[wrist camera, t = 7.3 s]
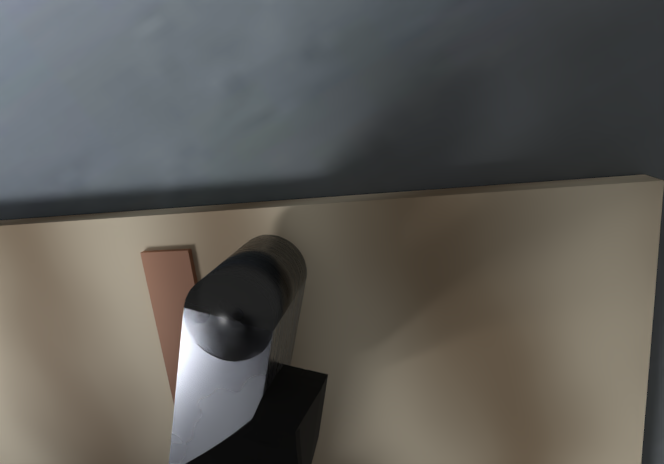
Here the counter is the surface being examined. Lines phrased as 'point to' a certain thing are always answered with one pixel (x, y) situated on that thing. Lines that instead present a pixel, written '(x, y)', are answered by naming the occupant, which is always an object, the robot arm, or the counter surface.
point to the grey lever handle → (235, 342)
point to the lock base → (352, 322)
